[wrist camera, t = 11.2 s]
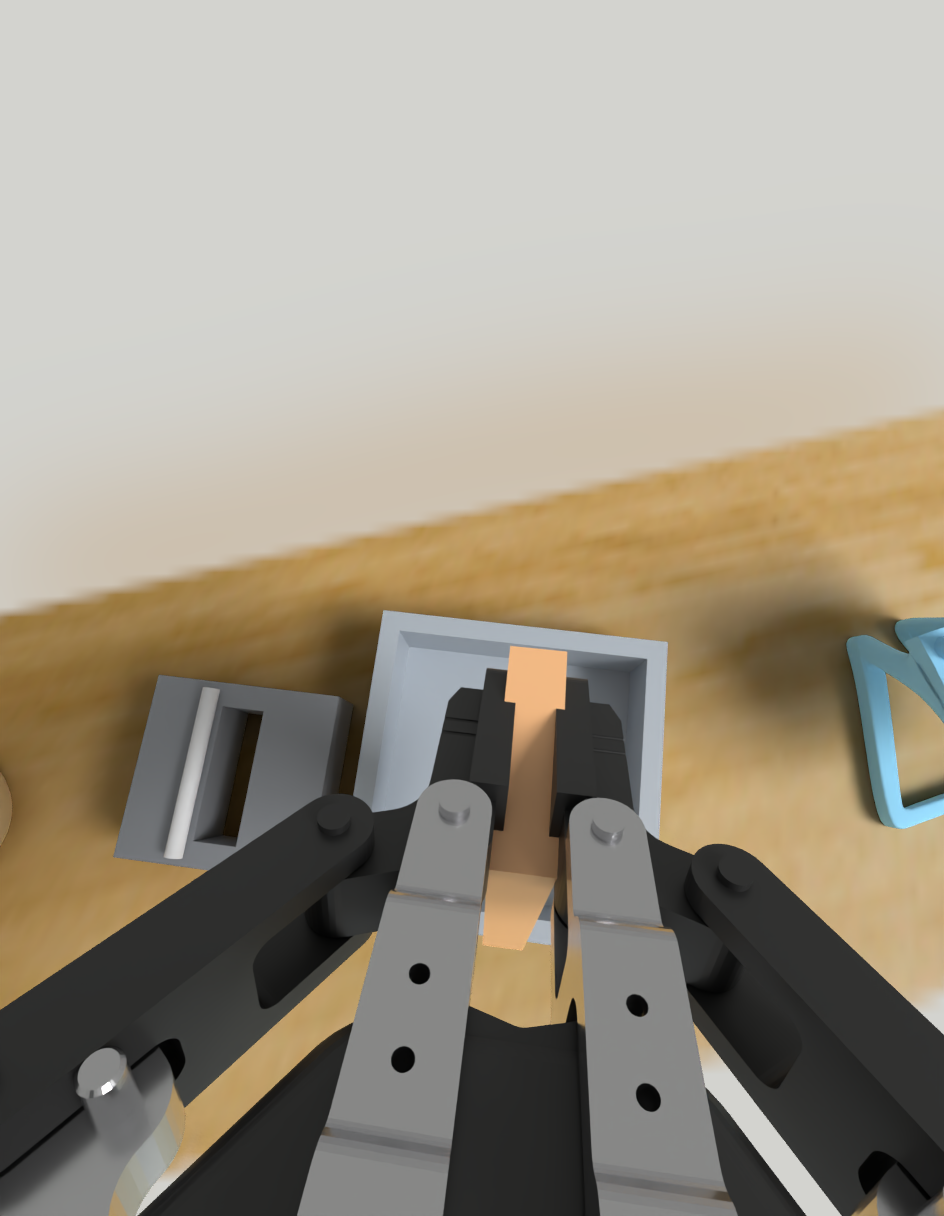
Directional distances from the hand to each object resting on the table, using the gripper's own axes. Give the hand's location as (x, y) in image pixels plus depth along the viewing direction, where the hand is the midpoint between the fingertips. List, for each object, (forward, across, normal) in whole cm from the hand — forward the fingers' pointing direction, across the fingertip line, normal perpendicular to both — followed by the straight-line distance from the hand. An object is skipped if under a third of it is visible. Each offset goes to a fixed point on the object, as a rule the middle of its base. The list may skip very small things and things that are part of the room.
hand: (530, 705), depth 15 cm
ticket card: (+2, 0, +8) cm, 9 cm away
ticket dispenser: (+9, +12, +13) cm, 20 cm away
